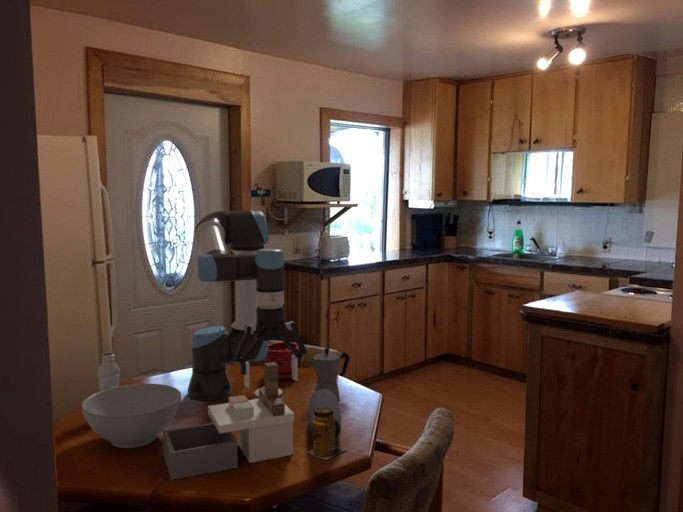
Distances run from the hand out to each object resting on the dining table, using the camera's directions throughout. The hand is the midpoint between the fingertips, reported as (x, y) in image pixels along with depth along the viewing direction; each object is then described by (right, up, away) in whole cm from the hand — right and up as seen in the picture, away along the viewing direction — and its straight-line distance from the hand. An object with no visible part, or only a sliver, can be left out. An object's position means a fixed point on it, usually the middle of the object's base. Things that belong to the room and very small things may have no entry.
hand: (271, 382), depth 157 cm
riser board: (-6, -19, -1) cm, 20 cm away
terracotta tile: (-9, -7, 0) cm, 11 cm away
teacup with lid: (-3, -17, +23) cm, 29 cm away
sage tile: (-7, -7, -5) cm, 11 cm away
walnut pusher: (0, -7, +1) cm, 7 cm away
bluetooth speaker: (+14, -18, +13) cm, 26 cm away
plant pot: (-4, -12, +67) cm, 68 cm away
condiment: (+15, -19, 0) cm, 24 cm away
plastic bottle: (-54, -16, +26) cm, 62 cm away
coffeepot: (+15, -15, +41) cm, 47 cm away
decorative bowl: (-40, -18, +8) cm, 45 cm away
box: (-18, -20, -6) cm, 27 cm away
